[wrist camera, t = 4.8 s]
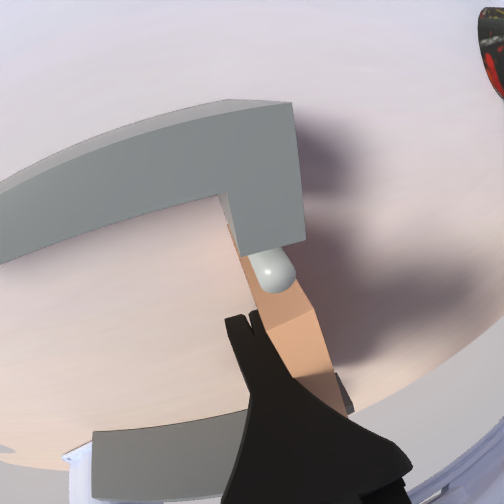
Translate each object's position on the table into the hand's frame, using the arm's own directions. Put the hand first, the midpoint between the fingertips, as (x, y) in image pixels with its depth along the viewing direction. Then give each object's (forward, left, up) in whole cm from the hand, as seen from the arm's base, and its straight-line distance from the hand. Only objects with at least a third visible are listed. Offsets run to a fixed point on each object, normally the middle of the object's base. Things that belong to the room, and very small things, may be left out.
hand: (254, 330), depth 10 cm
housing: (-6, +2, -2) cm, 7 cm away
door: (+1, -2, -1) cm, 3 cm away
